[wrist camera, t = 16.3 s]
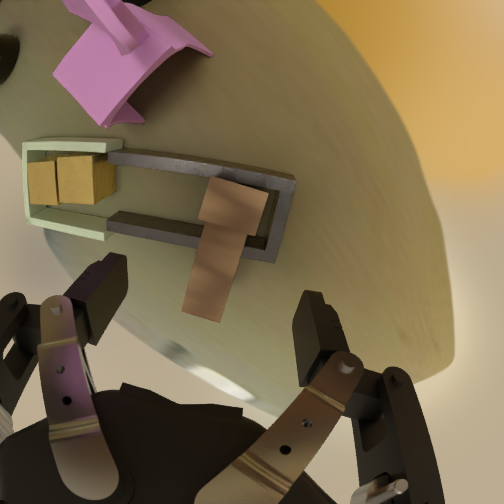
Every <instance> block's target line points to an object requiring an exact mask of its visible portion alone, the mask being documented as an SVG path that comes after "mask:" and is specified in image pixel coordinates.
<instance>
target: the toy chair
mask: <svg viewBox="0 0 504 504" xmlns="http://www.w3.org/2000/svg"><path fill="white" fill-rule="evenodd" d="M61 1H62V2H63V3H64V5H65V6H66V8H67V9H68V11H69V12H71V13H73V14H75V15H77V16H79V17H81V18H84V19H86V20H88V21H90V22H91V23H92V24H91V25H90V26H89V27H88V29H87V30H86V31H85V32H84V33H83V35H82V36H81V37H80V38H79V40H78V41H77V42H76V43H75V45H74V46H73V47H72V48H71V49H70V51H69V52H68V53H67V54H66V55H65V57H64V58H63V59H62V61H61V62H60V64H59V65H58V66H57V68H56V69H55V71H54V72H53V74H52V75H53V76H54V77H55V78H56V79H57V80H58V81H59V83H60V84H61V85H62V86H63V87H64V88H65V89H66V90H67V91H68V92H69V93H70V94H71V95H72V96H73V97H74V98H75V99H76V100H77V101H78V102H79V104H80V105H81V106H82V107H83V108H84V109H85V111H86V112H87V113H88V114H89V115H90V116H91V117H92V118H93V120H94V121H95V122H96V123H97V124H98V125H99V126H104V127H105V128H106V129H108V128H109V127H111V125H113V124H116V123H136V124H144V122H145V119H144V118H143V117H142V116H141V115H140V114H139V113H138V112H137V111H136V110H135V109H134V108H133V107H132V106H131V105H130V104H129V103H128V102H127V101H126V100H127V99H128V98H129V97H130V95H131V94H132V93H133V92H134V91H135V90H136V88H137V87H138V86H139V85H140V84H141V83H142V82H143V81H144V80H145V79H146V78H147V77H148V76H149V75H150V74H151V73H152V72H153V71H154V70H155V69H156V68H157V67H158V66H160V65H161V64H162V63H163V62H164V61H165V60H166V59H167V58H168V57H170V56H171V55H172V54H174V53H176V52H177V51H180V50H182V49H183V48H184V47H191V48H193V49H196V50H198V51H200V52H202V53H204V54H206V55H208V56H209V57H212V56H214V54H213V53H212V52H211V51H210V50H209V49H207V48H206V47H205V46H204V45H203V44H202V43H201V42H199V41H198V40H197V39H196V38H195V37H194V36H192V35H191V34H190V33H189V32H187V31H186V30H185V29H184V28H183V27H181V26H180V25H179V24H178V23H176V22H175V21H174V20H172V19H171V18H170V17H168V16H159V15H155V14H153V13H151V12H148V11H146V10H144V9H142V8H140V7H138V6H136V5H133V4H130V3H123V1H122V0H61Z"/></svg>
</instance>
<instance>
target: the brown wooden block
mask: <svg viewBox="0 0 504 504" xmlns="http://www.w3.org/2000/svg"><path fill="white" fill-rule="evenodd" d="M268 194H269V193H266V192H263V191H260V190H257V189H253V188H250V187H247V186H244V185H240V184H237V183H234V182H231V181H227V180H224V179H220V178H217V177H213V176H211V177H210V180H209V183H208V186H207V190H206V193H205V196H204V199H203V203H202V206H201V209H200V213H199V216H198V219H200V220H203V221H205V225H204V228H203V232H202V235H201V239H200V242H199V246H198V249H197V253H196V257H195V260H194V264H193V268H192V272H191V275H190V279H189V283H188V287H187V291H186V295H185V299H184V303H183V307H182V312H185V313H189V314H192V315H195V316H198V317H201V318H205V319H208V320H211V321H215V322H218V323H220V321H221V317H222V314H223V311H224V308H225V304H226V301H227V298H228V295H229V291H230V288H231V285H232V282H233V279H234V275H235V272H236V269H237V266H238V263H239V259H240V256H241V253H242V250H243V247H244V244H245V240H246V237H247V234H249V235H252V236H255V235H256V232H257V229H258V225H259V222H260V219H261V216H262V213H263V210H264V207H265V204H266V201H267V197H268Z"/></svg>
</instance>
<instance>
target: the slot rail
mask: <svg viewBox="0 0 504 504" xmlns="http://www.w3.org/2000/svg"><path fill="white" fill-rule="evenodd" d="M107 164H115V165H124V166H133V167H141V168H150V169H157V170H165V171H172V172H179V173H185V174H192V175H198V176H204V177H211V176H213V177H217V178H220V179H224V180H227V181H233V182H238V183H243V184H248V185H253V186H258V187H263V188H268V189H273V190H277V191H276V195H275V199H274V203H273V207H272V212H271V216H270V220H269V224H268V228H267V233H266V237H265V238H263V237H258V236H252V235H248V234H247V237H246V240H245V244H244V247H243V250H242V253H241V256H240V257H243V258H248V259H254V260H259V261H264V262H270V263H275V261H276V257H277V254H278V250H279V246H280V242H281V239H282V235H283V231H284V227H285V224H286V220H287V216H288V212H289V208H290V204H291V200H292V197H293V193H294V189H295V185H296V180H295V178H294V176H293V175H291V174H286V173H282V172H278V171H273V170H268V169H263V168H259V167H254V166H248V165H243V164H238V163H232V162H227V161H221V160H215V159H209V158H202V157H196V156H189V155H182V154H174V153H166V152H158V151H149V150H139V149H128V148H120V149H117V150H113V151H110V152H108V163H107ZM203 228H204V226H201V225H195V224H190V223H185V222H179V221H174V220H168V219H163V218H157V217H151V216H146V215H140V214H134V213H129V212H123V211H118V212H117V213H115V214H114V215H113V216H111V217H110V218H109V219H107V220H106V229H107V231H111V232H116V233H121V234H126V235H131V236H136V237H141V238H146V239H151V240H156V241H161V242H166V243H171V244H176V245H181V246H186V247H191V248H197V249H198V246H199V242H200V239H201V235H202V232H203Z"/></svg>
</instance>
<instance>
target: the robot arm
mask: <svg viewBox="0 0 504 504" xmlns="http://www.w3.org/2000/svg"><path fill="white" fill-rule="evenodd" d="M0 1H1V0H0ZM127 290H128V272H127V258H126V256H125V255H122V254H117V253H113V252H110V253H108V255H107V256H106V257H105V258H104V259H103V260H102V261H99V260H98V261H97V262H95V263H93V264H91V265H89V266H88V267H87V269H86V270H85V271H84V273H82V274H81V275H80V276H79V278H77V280H76V281H75V282H74V283H73V284H72V285H71V286H70V287H69V289H68V290H67V291H66V292H65V293H64V294H63V296H62V295H55V296H52V297H49V298H47V299H46V300H45V301H44V302H43V303H42V304H41V305H35V304H27V301H26V298H25V296H24V295H23V294H22V293H19V292H13V293H10V294H7V295H6V296H4V297H3V298H2V299H1V301H0V504H337V503H336V502H335V501H334V500H333V499H331V497H330V496H328V494H326V493H325V492H324V491H323V490H322V489H321V488H320V487H319V486H318V485H317V484H316V482H315V481H314V480H312V478H311V477H310V476H309V475H308V474H307V473H306V472H305V471H304V469H305V468H306V467H307V465H308V464H309V462H310V461H311V460H312V459H313V457H314V456H315V454H316V453H317V452H318V450H319V449H320V447H321V446H322V444H323V443H324V442H325V440H326V439H327V437H328V436H329V434H330V433H331V431H332V430H333V428H334V427H335V425H336V424H337V422H338V420H339V419H340V417H341V416H345V417H349V418H351V421H352V427H353V434H354V442H355V449H356V456H357V466H358V475H359V485H360V487H359V488H358V489H357V490H356V491H355V492H354V493H353V495H352V497H351V501H350V504H445V500H444V494H443V489H442V484H441V479H440V474H439V470H438V466H437V462H436V458H435V454H434V450H433V446H432V442H431V439H430V435H429V432H428V428H427V425H426V422H425V419H424V416H423V412H422V409H421V406H420V403H419V400H418V397H417V394H416V392H415V389H414V386H413V383H412V380H411V378H410V376H409V375H408V374H407V373H406V372H405V371H404V370H402V369H401V368H398V367H388V368H386V369H385V370H384V372H383V373H382V374H381V373H377V372H374V371H371V370H368V369H365V368H364V365H363V363H362V361H361V360H360V359H359V358H358V357H357V356H356V355H354V354H353V353H350V350H349V347H348V344H347V341H346V338H345V335H344V332H343V330H342V326H341V323H340V320H339V317H338V314H337V312H336V311H335V310H334V309H333V307H332V306H331V305H328V304H325V301H324V298H323V295H322V293H321V292H316V291H310V290H304V292H303V294H302V296H301V299H300V302H299V304H298V307H297V310H296V312H295V315H294V318H293V323H292V331H293V339H294V347H295V354H296V363H297V371H298V379H299V387H305V388H304V389H303V390H302V392H301V393H300V394H299V395H298V396H297V397H296V399H295V400H294V401H293V402H292V403H291V404H290V406H289V407H288V408H287V409H286V410H285V411H284V412H283V413H282V414H281V416H280V417H279V418H278V419H277V420H276V421H275V422H274V423H273V424H272V425H271V427H269V428H268V429H267V430H266V429H265V428H264V427H263V426H261V425H260V424H258V423H256V422H255V421H253V420H251V419H248V418H246V417H243V416H242V414H243V408H238V407H231V406H224V405H218V404H178V403H175V402H173V401H171V400H169V399H167V398H165V397H163V396H161V395H159V394H157V393H155V392H153V391H151V390H148V389H144V388H140V387H136V386H133V385H130V384H127V383H122V385H121V388H120V390H106V391H101V392H97V390H96V388H95V385H94V381H93V378H92V375H91V372H90V368H89V364H88V360H87V356H86V352H85V349H84V347H85V346H86V344H87V343H89V344H92V345H95V346H96V345H97V343H98V342H99V340H100V338H101V336H102V335H103V333H104V331H105V329H106V328H107V326H108V324H109V322H110V321H111V319H112V318H113V316H114V314H115V313H116V311H117V309H118V308H119V306H120V305H121V303H122V301H123V300H124V298H125V296H126V294H127ZM12 338H13V340H14V344H13V346H12V348H11V349H10V351H9V352H8V354H7V355H6V357H5V359H4V360H3V352H4V349H5V348H6V346H7V344H8V343H9V342H10V340H11V339H12ZM38 362H39V372H40V379H41V387H42V392H43V399H44V404H45V409H46V414H47V418H45V419H43V420H41V421H38V422H36V423H35V424H32V425H30V426H28V427H26V428H24V429H22V430H20V431H18V432H15V433H14V430H13V429H12V428H13V422H12V418H11V416H12V414H13V411H14V409H15V407H16V405H17V403H18V400H19V398H20V396H21V394H22V392H23V390H24V388H25V386H26V384H27V382H28V380H29V378H30V376H31V374H32V372H33V371H34V368H35V367H36V365H37V363H38Z"/></svg>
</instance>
